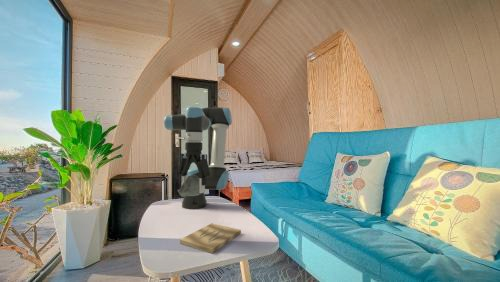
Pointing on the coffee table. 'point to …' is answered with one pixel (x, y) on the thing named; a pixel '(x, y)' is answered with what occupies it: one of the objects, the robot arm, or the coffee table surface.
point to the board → (210, 237)
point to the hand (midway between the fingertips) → (193, 191)
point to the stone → (190, 186)
